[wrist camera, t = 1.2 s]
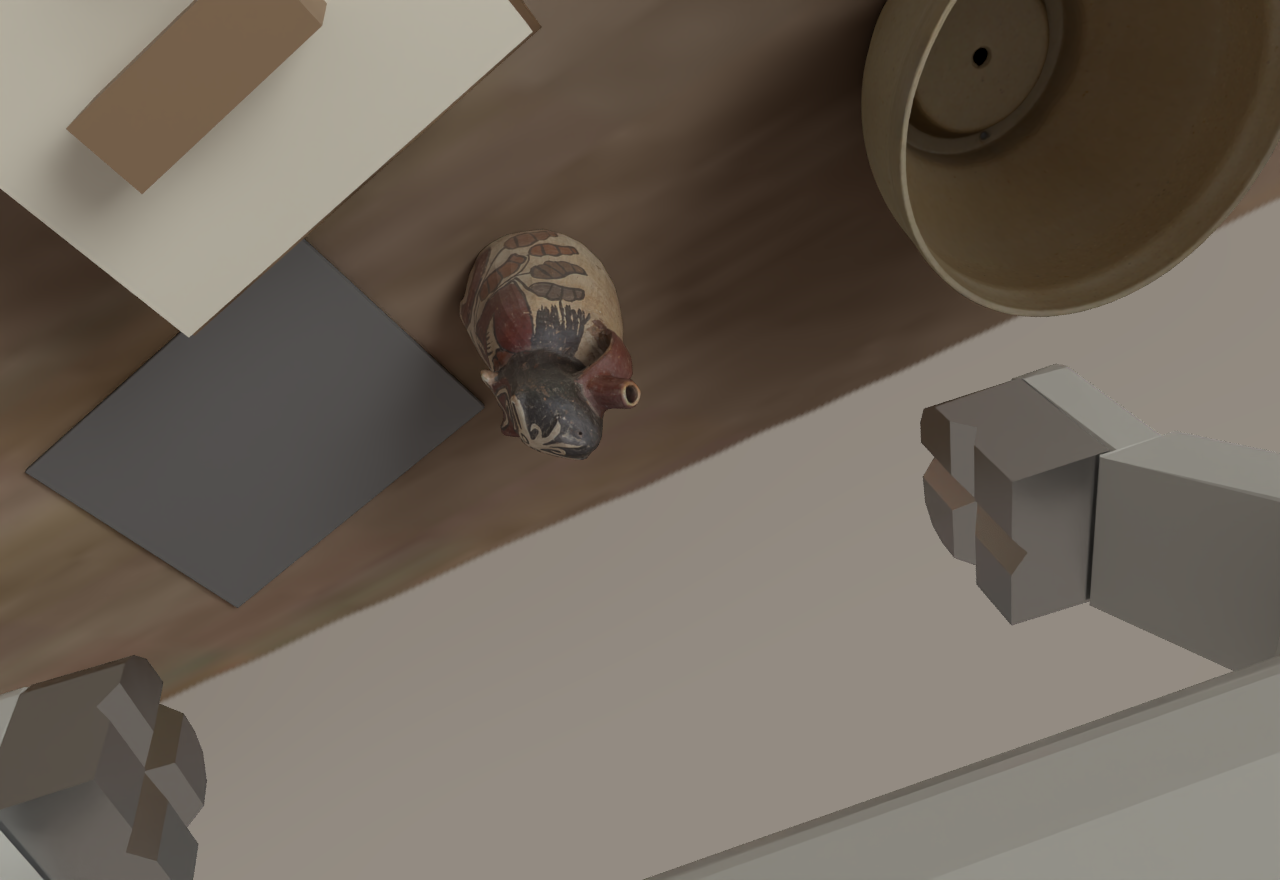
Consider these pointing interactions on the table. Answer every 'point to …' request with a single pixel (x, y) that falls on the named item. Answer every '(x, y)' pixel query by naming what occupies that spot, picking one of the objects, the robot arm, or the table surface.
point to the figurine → (549, 340)
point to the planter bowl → (1067, 137)
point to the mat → (259, 429)
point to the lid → (220, 123)
